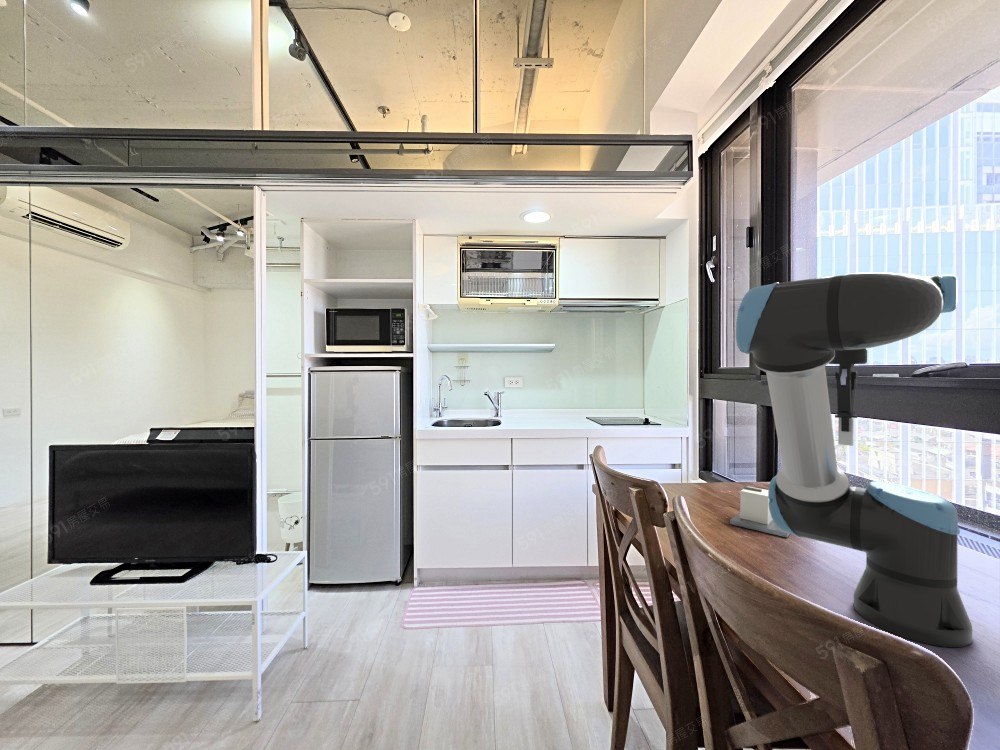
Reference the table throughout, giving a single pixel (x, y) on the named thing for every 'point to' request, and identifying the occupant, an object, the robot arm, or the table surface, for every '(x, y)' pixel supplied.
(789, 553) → the table surface
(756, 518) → the block
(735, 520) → the hub plate
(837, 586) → the table surface
